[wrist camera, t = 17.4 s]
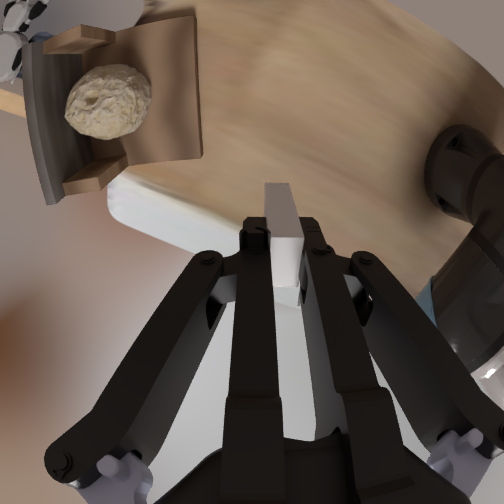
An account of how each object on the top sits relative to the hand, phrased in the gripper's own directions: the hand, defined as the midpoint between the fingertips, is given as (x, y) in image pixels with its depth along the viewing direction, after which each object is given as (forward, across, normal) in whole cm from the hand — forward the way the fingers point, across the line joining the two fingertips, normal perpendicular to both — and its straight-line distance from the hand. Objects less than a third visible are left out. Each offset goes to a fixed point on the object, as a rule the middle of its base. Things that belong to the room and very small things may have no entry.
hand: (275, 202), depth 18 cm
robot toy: (+17, +37, -24) cm, 47 cm away
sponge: (+16, +18, -8) cm, 25 cm away
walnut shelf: (+17, +16, -8) cm, 25 cm away
